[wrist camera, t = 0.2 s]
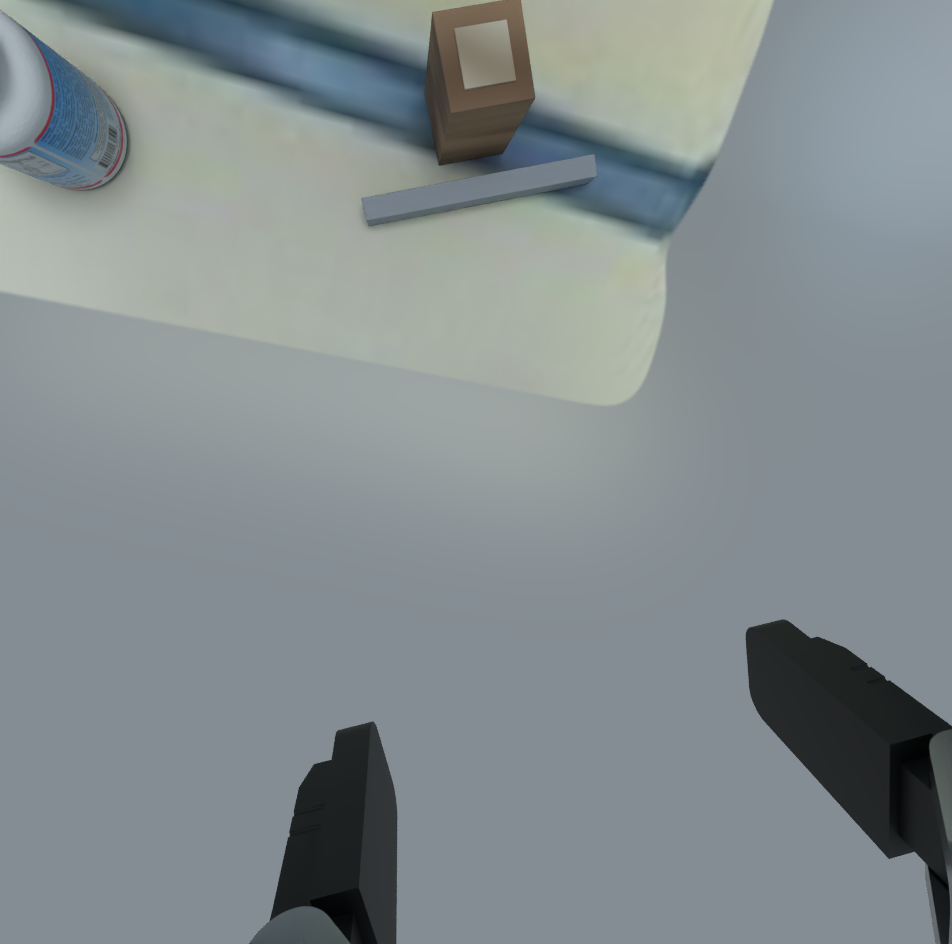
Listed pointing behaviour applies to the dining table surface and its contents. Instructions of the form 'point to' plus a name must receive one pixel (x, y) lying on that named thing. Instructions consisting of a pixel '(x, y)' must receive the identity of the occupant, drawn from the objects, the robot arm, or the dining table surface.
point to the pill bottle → (54, 115)
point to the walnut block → (477, 79)
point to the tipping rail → (479, 190)
